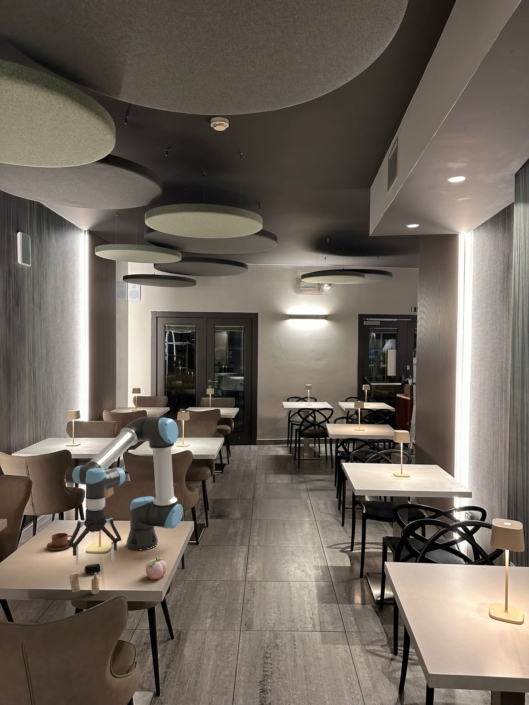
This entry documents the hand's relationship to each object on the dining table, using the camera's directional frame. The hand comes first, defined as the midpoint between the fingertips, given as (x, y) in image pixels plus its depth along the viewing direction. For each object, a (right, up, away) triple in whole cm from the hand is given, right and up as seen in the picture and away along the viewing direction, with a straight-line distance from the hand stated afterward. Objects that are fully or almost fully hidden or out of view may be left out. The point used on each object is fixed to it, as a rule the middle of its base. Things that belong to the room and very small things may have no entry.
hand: (94, 561), depth 217 cm
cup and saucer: (-34, -14, +52) cm, 63 cm away
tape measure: (-4, -13, +20) cm, 24 cm away
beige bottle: (0, -14, 0) cm, 14 cm away
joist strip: (-11, -14, +10) cm, 20 cm away
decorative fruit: (+21, -14, +14) cm, 29 cm away
